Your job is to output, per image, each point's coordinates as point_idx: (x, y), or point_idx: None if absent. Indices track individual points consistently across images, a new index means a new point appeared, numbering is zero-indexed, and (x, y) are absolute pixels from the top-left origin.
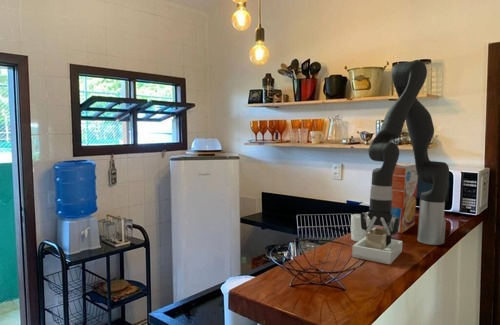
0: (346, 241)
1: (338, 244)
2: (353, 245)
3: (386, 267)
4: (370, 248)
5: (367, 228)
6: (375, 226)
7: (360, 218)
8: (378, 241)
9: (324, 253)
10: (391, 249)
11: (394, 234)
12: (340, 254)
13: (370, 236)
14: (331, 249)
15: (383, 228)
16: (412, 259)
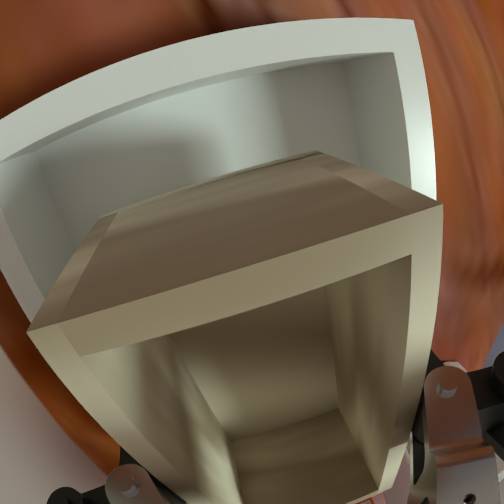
0: (474, 322)
1: (498, 241)
2: (410, 30)
3: (3, 49)
4: (195, 62)
5: (470, 401)
6: (396, 493)
7: (499, 470)
8: (143, 239)
9: (481, 2)
10: (24, 276)
11: (61, 489)
12: (428, 38)
13: (325, 214)
14: (499, 110)
15: (372, 501)
16: (40, 372)
